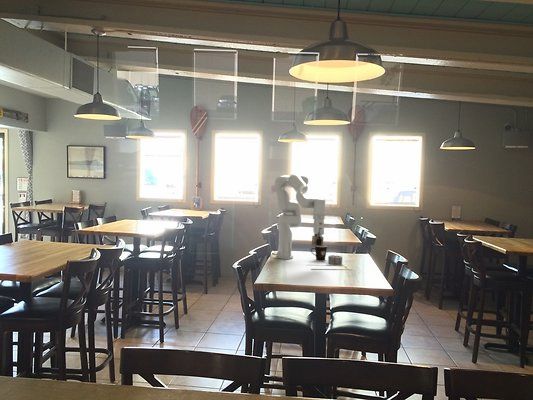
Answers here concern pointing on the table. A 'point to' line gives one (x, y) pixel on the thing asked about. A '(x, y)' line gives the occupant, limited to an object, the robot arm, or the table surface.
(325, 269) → the lane
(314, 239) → the die
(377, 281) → the table surface
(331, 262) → the dome ring
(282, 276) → the table surface
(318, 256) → the coffee mug
